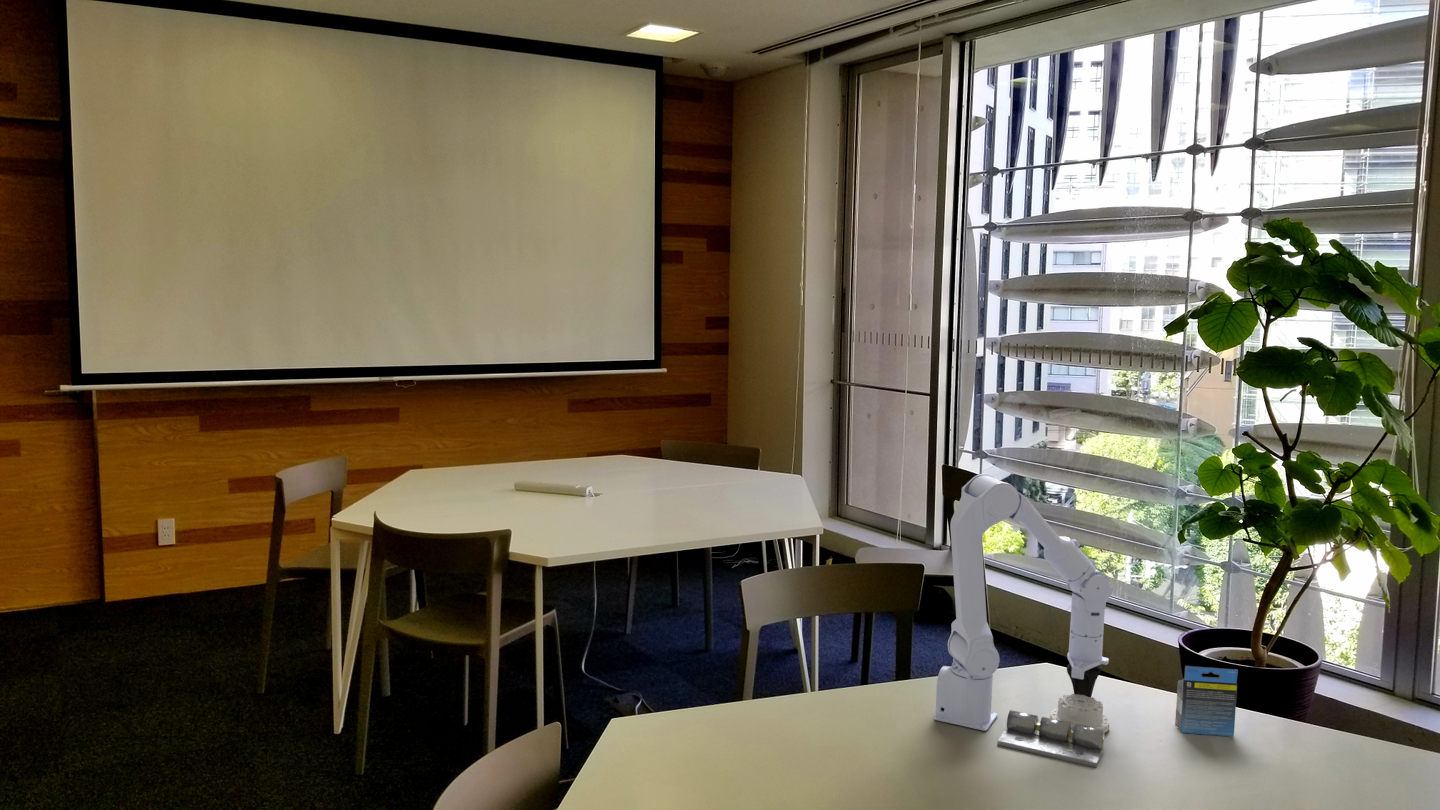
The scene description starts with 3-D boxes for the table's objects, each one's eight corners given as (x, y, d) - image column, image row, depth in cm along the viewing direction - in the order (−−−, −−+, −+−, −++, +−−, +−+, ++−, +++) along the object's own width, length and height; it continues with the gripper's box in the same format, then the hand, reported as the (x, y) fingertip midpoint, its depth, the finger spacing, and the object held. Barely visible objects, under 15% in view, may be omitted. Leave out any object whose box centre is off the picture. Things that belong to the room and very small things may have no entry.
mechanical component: (1053, 733, 180) (1113, 739, 178) (1054, 709, 179) (1114, 715, 177) (1047, 711, 189) (1104, 716, 187) (1048, 687, 189) (1105, 693, 187)
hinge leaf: (997, 745, 175) (998, 724, 174) (1010, 726, 182) (1011, 706, 182) (1096, 767, 167) (1097, 746, 167) (1105, 747, 175) (1106, 726, 174)
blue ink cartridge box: (1227, 728, 183) (1232, 661, 182) (1234, 738, 179) (1239, 669, 178) (1174, 724, 184) (1178, 657, 183) (1180, 733, 181) (1184, 665, 179)
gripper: (1103, 648, 178) (1098, 723, 180) (1116, 625, 191) (1111, 695, 192) (1061, 640, 182) (1057, 714, 183) (1076, 618, 194) (1072, 687, 196)
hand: (1082, 704), depth 188 cm, fingers closed
